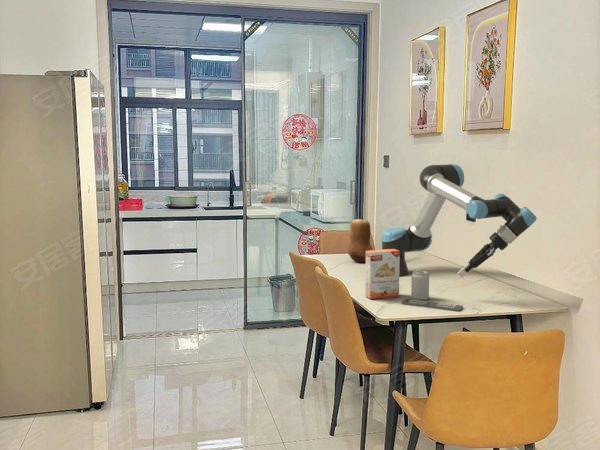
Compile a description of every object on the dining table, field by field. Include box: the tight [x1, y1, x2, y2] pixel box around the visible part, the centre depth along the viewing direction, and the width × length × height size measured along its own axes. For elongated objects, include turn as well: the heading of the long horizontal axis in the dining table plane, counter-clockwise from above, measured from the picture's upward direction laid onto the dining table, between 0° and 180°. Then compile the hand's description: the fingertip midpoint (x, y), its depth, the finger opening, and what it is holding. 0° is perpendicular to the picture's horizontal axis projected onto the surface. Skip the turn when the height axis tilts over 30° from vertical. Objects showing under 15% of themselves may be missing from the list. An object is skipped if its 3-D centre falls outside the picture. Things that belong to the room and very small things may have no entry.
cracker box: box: [365, 249, 400, 300], centre depth 244 cm, size 14×6×21 cm, turn 106°
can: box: [410, 270, 430, 301], centre depth 240 cm, size 8×8×12 cm
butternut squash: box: [348, 218, 374, 264], centre depth 320 cm, size 14×13×25 cm
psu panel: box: [401, 298, 464, 313], centre depth 230 cm, size 6×24×1 cm, turn 58°
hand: (459, 275), depth 237 cm, fingers closed
